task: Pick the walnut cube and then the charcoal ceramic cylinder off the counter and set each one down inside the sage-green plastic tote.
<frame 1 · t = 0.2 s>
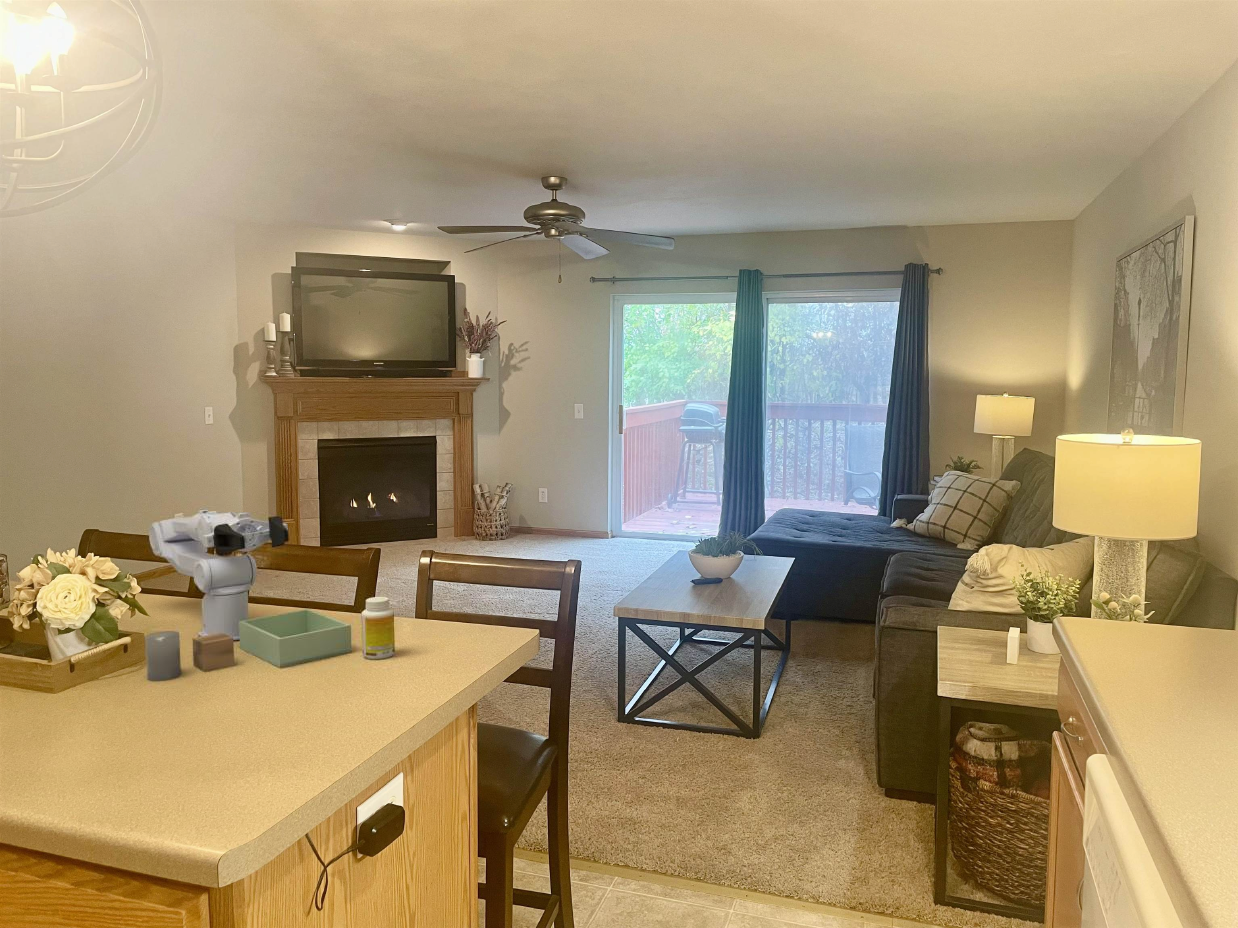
hand: (264, 539, 156), 21 cm above the kitchen island, tool horizontal, fingers open, 7 cm apart
tote: (295, 650, 162), on the kitchen island
supplement bottle: (378, 656, 159), on the kitchen island
cube: (214, 666, 153), on the kitchen island
cylinder: (164, 676, 148), on the kitchen island
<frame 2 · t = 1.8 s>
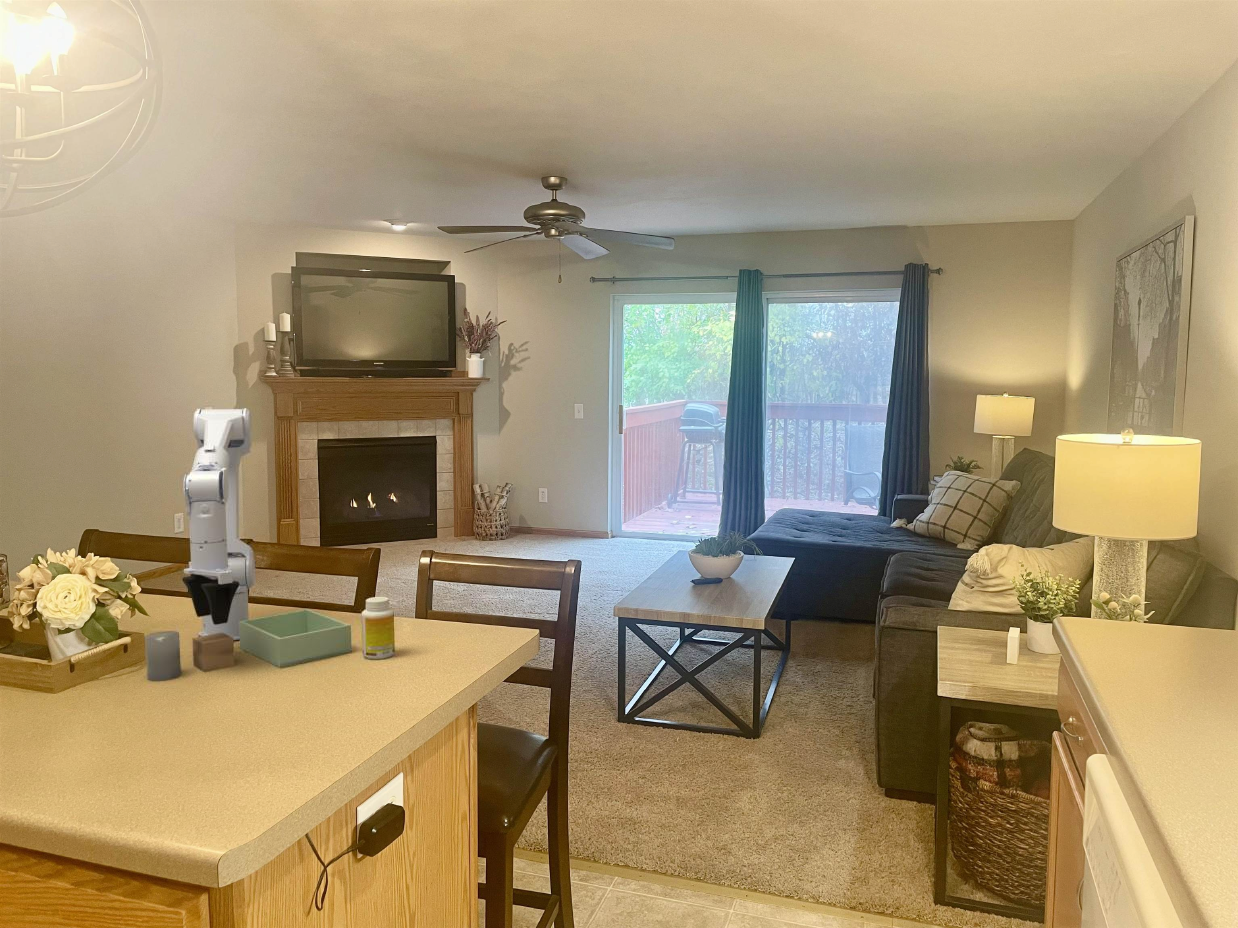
hand: (211, 619, 153), 8 cm above the kitchen island, tool pointing down, fingers open, 7 cm apart
nothing on the kitchen island moved.
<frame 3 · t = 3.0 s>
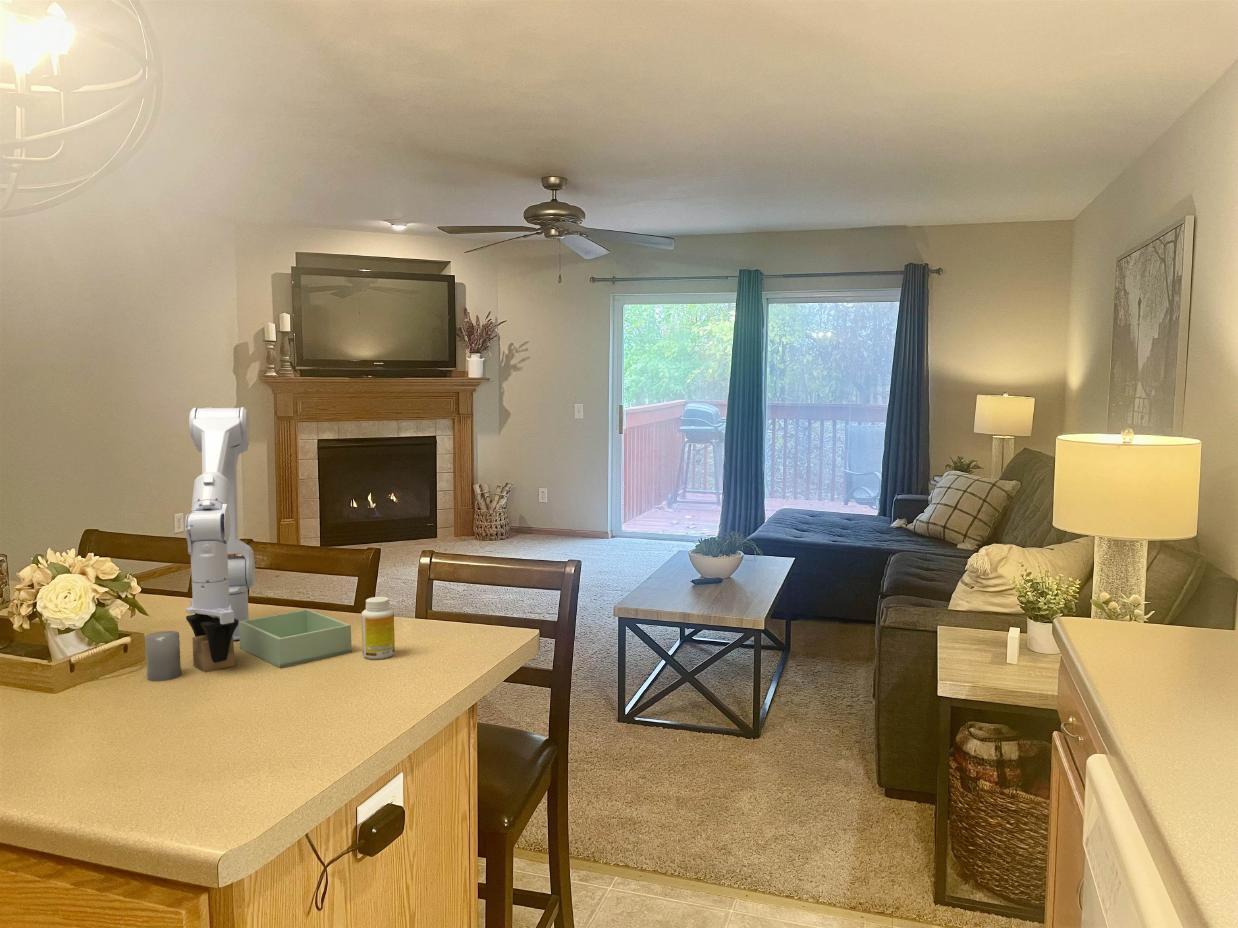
hand: (213, 657, 153), 1 cm above the kitchen island, tool pointing down, fingers closed on cube, 5 cm apart
cube: (214, 665, 153), on the kitchen island, touching gripper
everything else where it was.
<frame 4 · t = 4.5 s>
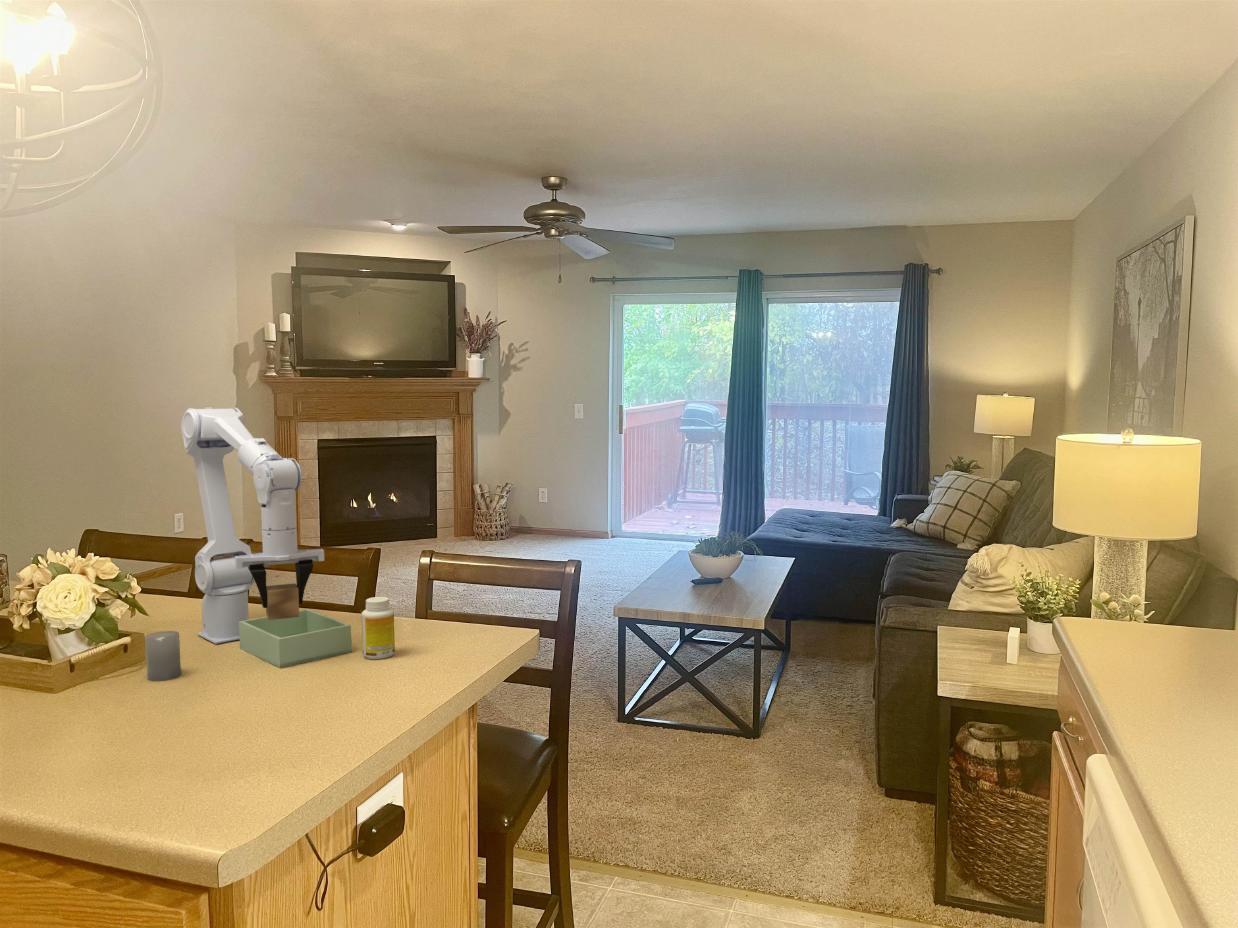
hand: (282, 604, 157), 9 cm above the kitchen island, tool pointing down, fingers closed on cube, 5 cm apart
cube: (282, 615, 157), point 8 cm above the kitchen island, touching gripper
everything else where it was.
when the fingers open (5 cm above the kitchen island, at t = 6.0 s): cube drops 3 cm, resting on tote.
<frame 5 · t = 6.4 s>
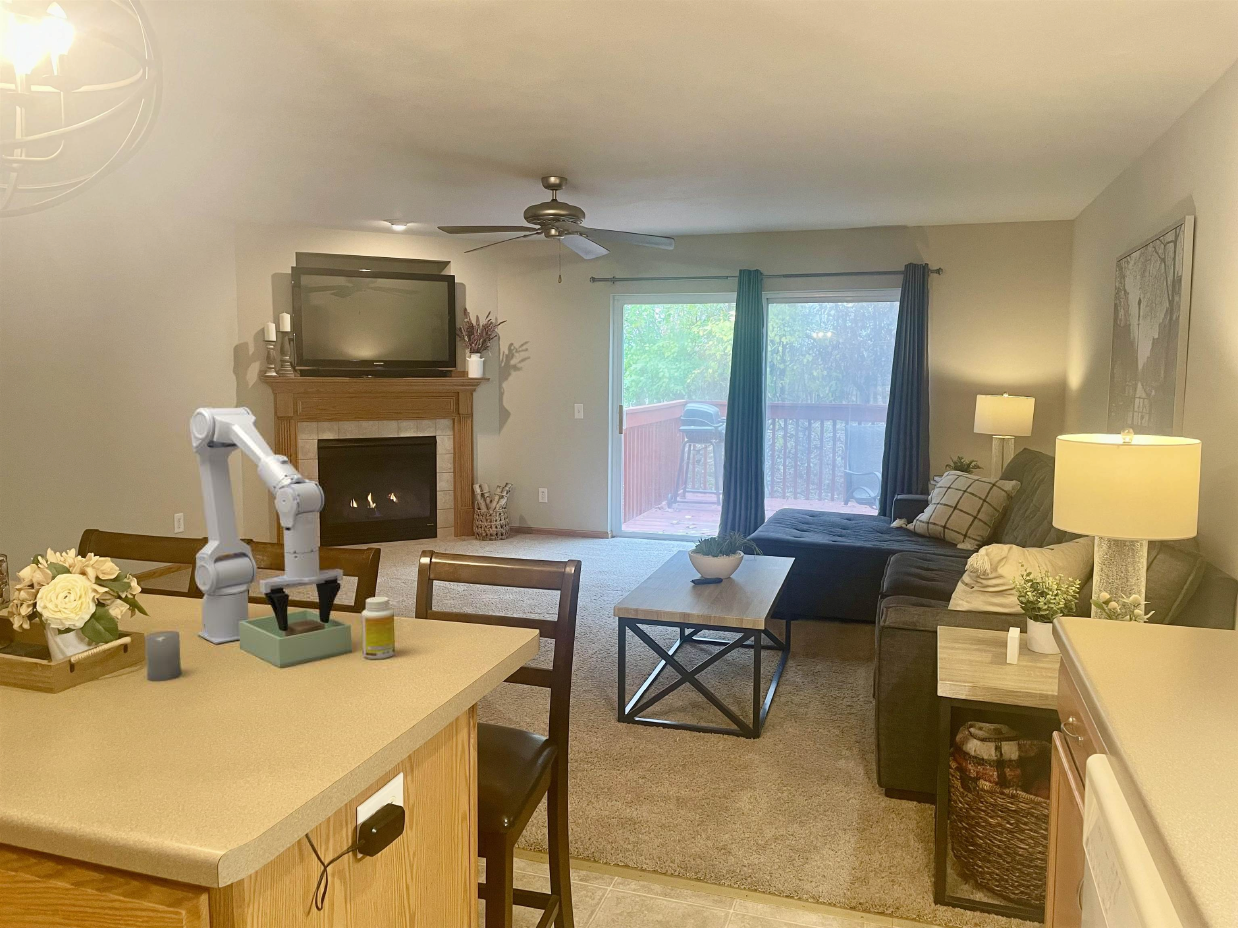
hand: (304, 625, 159), 5 cm above the kitchen island, tool pointing down, fingers open, 7 cm apart
cube: (305, 651, 159), point 1 cm above the kitchen island, touching tote
everything else where it was.
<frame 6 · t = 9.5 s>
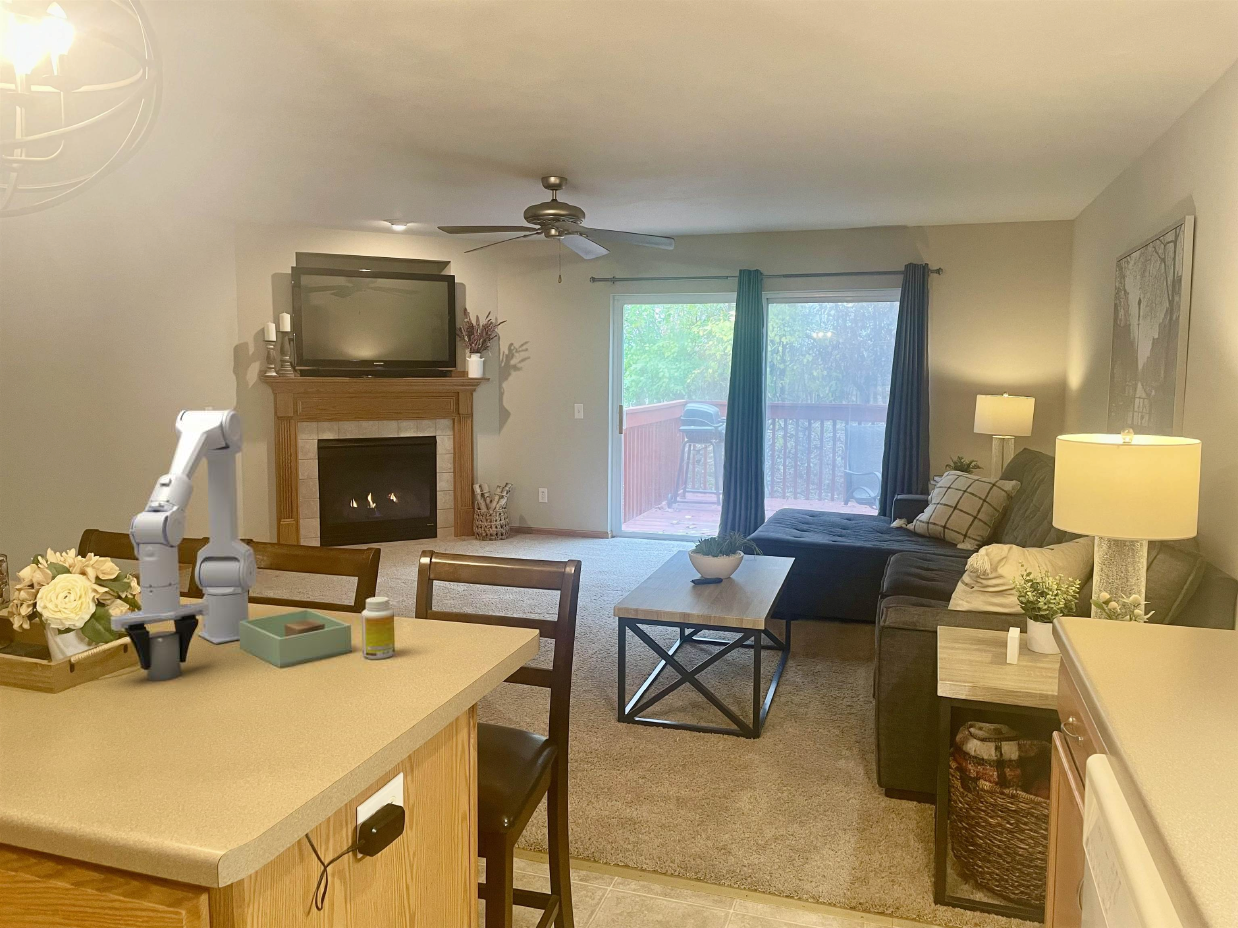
hand: (163, 664, 148), 2 cm above the kitchen island, tool pointing down, fingers closed on cylinder, 5 cm apart
cylinder: (164, 676, 148), on the kitchen island, touching gripper
everything else where it was.
when the fingers open (5 cm above the kitchen island, at t = 13.0 s): cylinder drops 2 cm, resting on tote.
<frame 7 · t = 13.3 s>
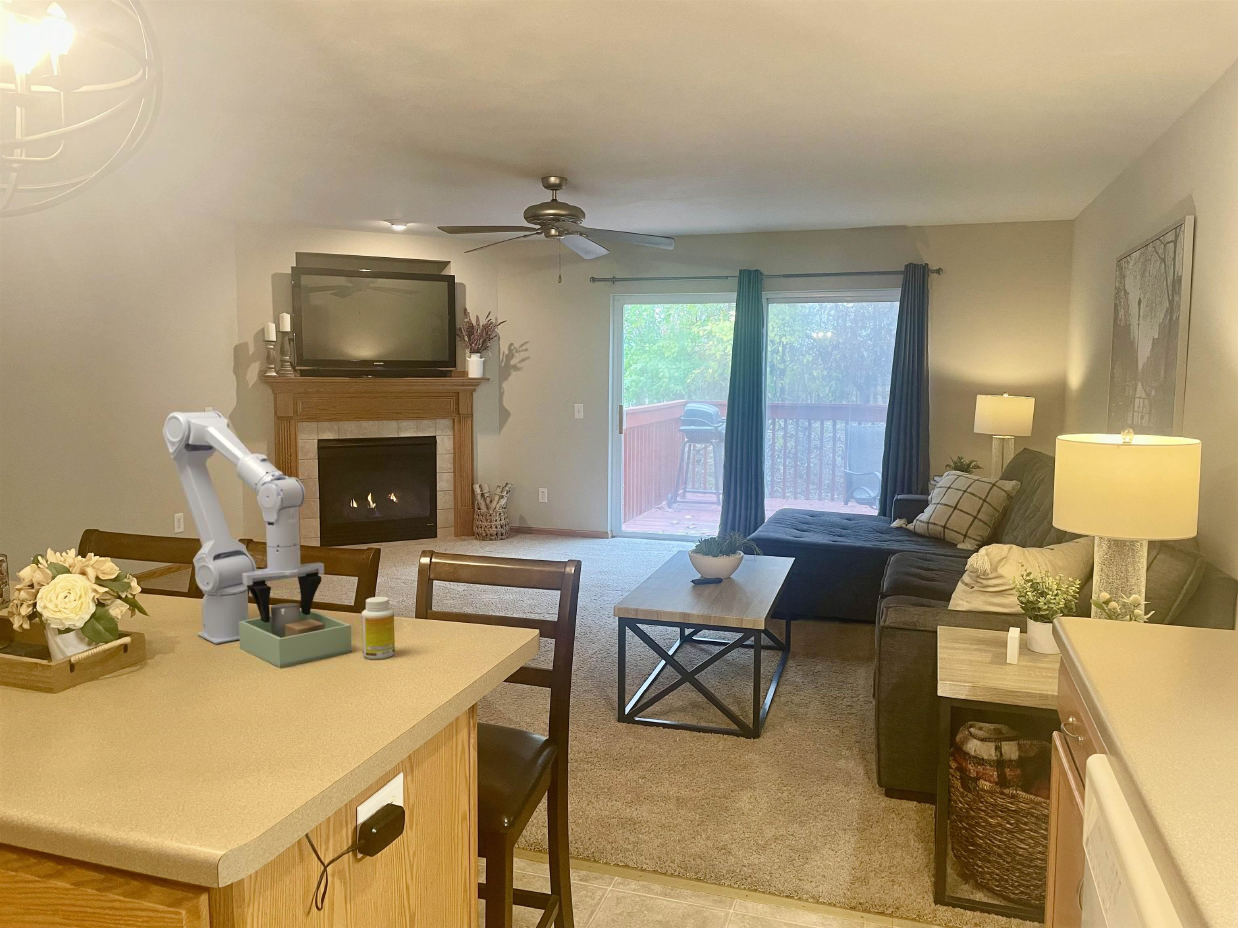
hand: (285, 617, 164), 5 cm above the kitchen island, tool pointing down, fingers open, 7 cm apart
cylinder: (286, 643, 165), point 1 cm above the kitchen island, touching tote
everything else where it was.
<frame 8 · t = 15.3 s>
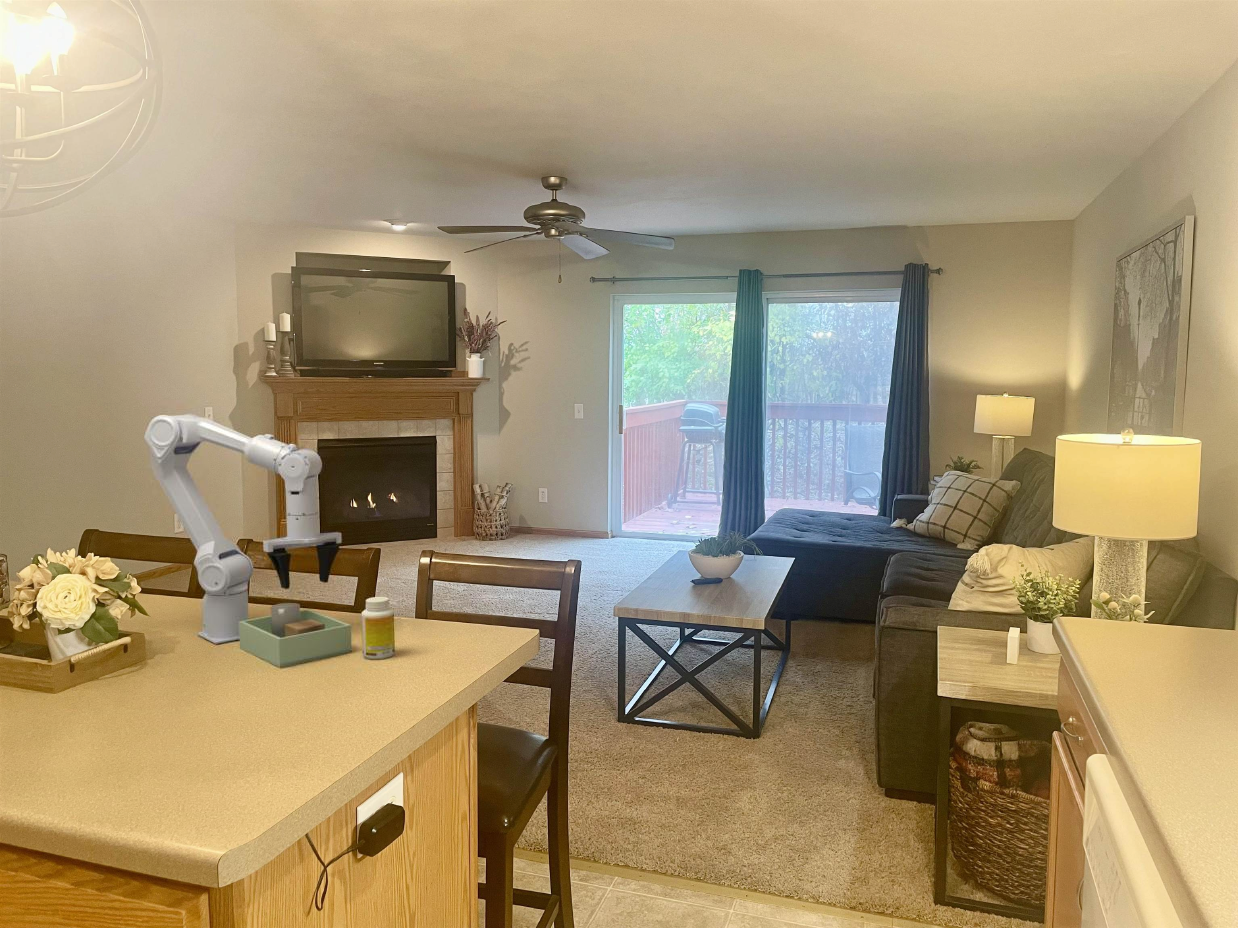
hand: (304, 584, 169), 10 cm above the kitchen island, tool pointing down, fingers open, 7 cm apart
nothing on the kitchen island moved.
at the end: cube inside the target area on the tote (4.3 cm from its centre), point 0.6 cm above the tote's base; cylinder inside the target area on the tote (3.3 cm from its centre), point 0.6 cm above the tote's base; the gripper is holding nothing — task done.
